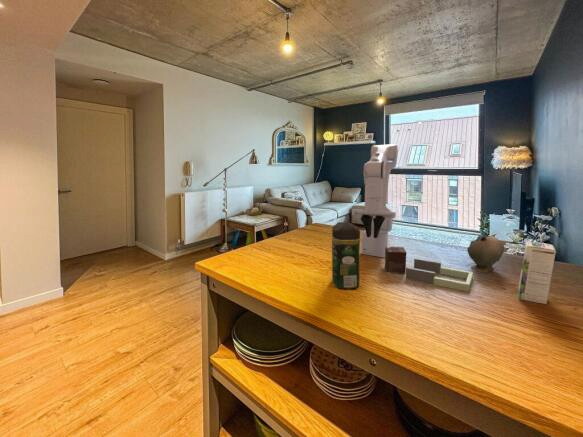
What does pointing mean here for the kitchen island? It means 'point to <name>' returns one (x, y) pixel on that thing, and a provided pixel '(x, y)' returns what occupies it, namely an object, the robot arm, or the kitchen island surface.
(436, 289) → the kitchen island surface
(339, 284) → the coffee jar
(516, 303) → the kitchen island surface
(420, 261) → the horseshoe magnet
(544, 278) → the syrup box
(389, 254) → the box
